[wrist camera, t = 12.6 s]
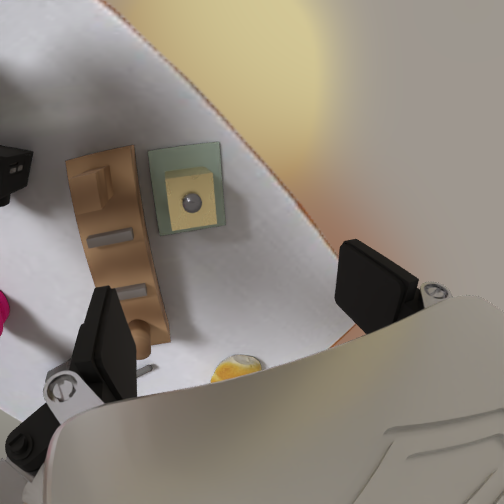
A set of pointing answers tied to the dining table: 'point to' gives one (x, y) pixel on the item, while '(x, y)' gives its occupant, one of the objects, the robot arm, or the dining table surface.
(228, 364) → the bread roll
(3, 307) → the pepper mill
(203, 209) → the lever cap
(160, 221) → the felt pad
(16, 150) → the digital camera
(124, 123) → the dining table surface
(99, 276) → the plane body
